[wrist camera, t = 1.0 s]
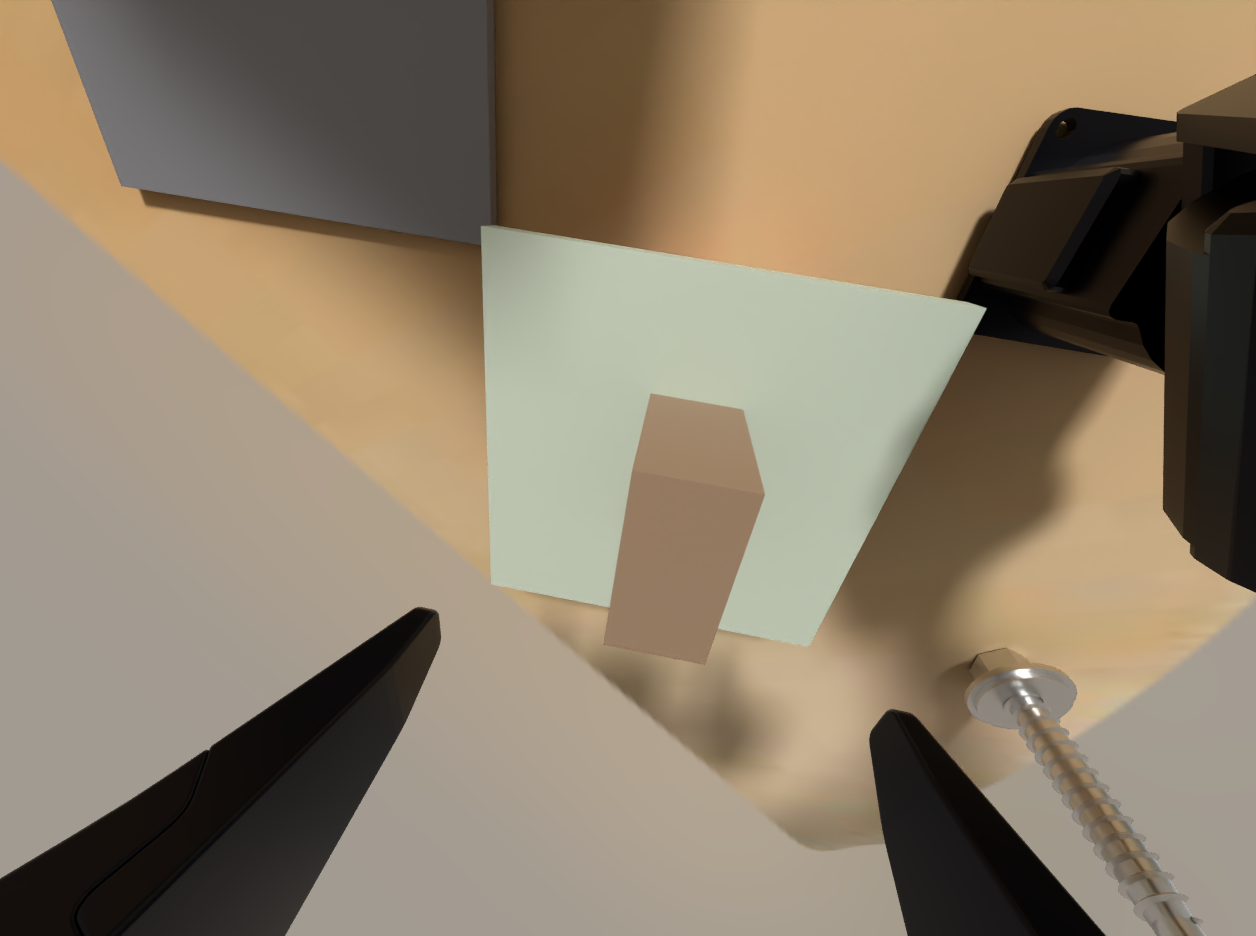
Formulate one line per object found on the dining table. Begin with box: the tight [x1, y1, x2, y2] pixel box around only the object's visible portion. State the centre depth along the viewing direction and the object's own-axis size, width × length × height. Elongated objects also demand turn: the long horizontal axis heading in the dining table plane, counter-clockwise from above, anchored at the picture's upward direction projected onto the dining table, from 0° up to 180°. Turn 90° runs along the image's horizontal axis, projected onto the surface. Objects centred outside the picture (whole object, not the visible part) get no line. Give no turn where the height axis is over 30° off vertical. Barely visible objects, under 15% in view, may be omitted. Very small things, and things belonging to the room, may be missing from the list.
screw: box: [964, 648, 1206, 936], centre depth 19 cm, size 13×5×5 cm
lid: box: [481, 225, 987, 665], centre depth 14 cm, size 14×14×6 cm
